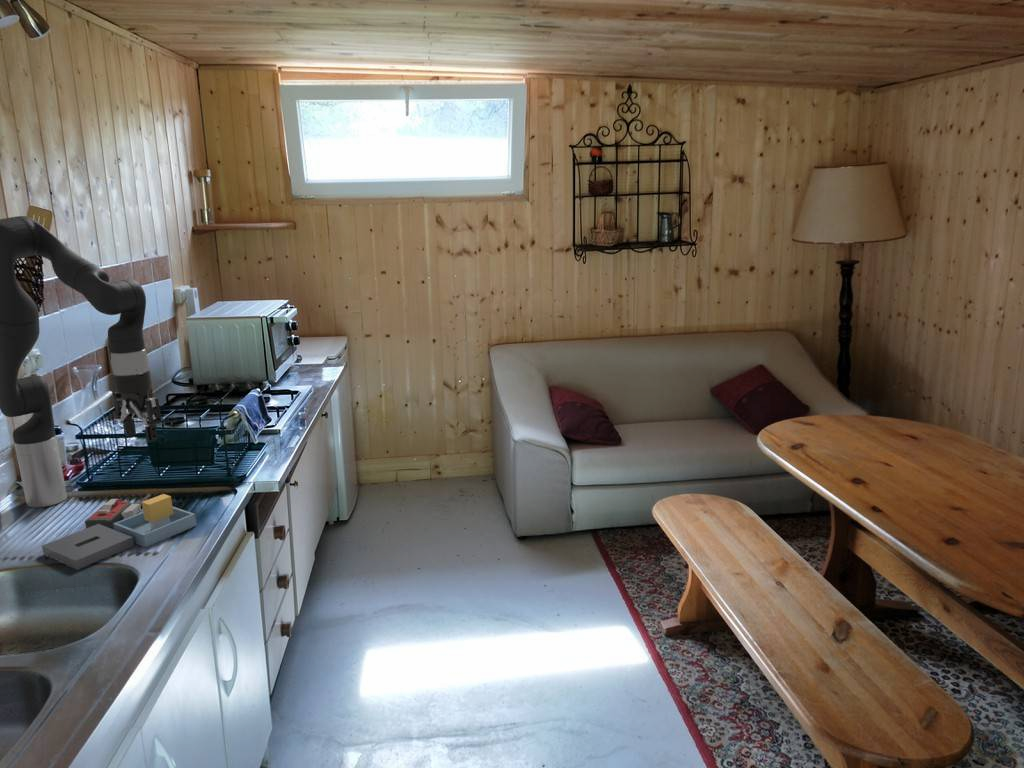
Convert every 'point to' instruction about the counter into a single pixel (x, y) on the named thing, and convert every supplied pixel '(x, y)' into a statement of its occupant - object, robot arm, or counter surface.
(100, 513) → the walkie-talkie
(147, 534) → the tray
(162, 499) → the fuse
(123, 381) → the robot arm
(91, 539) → the grey slotted base
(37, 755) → the counter surface
